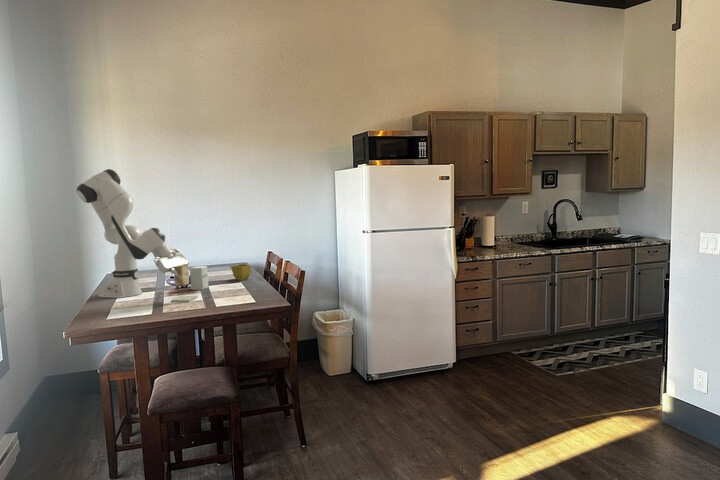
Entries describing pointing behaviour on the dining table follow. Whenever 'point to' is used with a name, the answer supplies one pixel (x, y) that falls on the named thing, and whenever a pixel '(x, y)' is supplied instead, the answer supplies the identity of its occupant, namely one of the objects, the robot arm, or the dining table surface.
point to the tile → (184, 298)
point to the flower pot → (241, 271)
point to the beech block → (182, 275)
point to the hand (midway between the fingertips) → (182, 274)
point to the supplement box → (199, 277)
